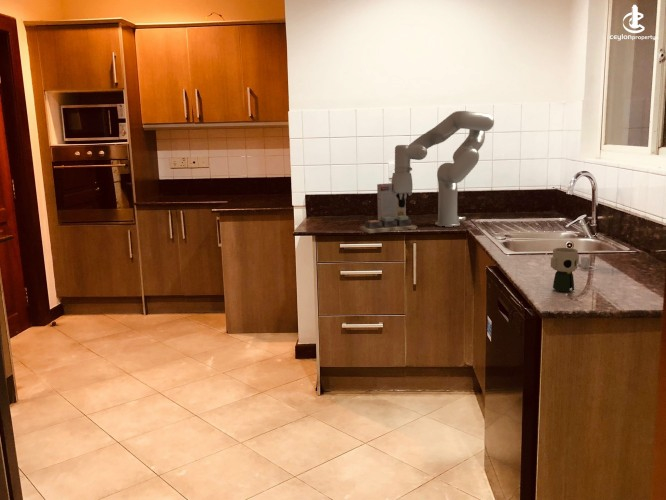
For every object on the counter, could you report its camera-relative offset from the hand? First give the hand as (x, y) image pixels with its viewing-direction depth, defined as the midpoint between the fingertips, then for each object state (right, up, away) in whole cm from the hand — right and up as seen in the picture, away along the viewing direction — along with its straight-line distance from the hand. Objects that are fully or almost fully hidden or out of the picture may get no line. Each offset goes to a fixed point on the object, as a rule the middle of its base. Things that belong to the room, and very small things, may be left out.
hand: (401, 207), depth 313 cm
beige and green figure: (+37, -34, -118) cm, 129 cm away
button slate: (-7, -8, -1) cm, 11 cm away
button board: (-7, -11, 0) cm, 13 cm away
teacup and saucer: (+58, -28, -89) cm, 110 cm away
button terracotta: (-14, -10, -3) cm, 18 cm away
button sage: (+1, -7, +2) cm, 8 cm away
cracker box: (-3, -7, +19) cm, 20 cm away
